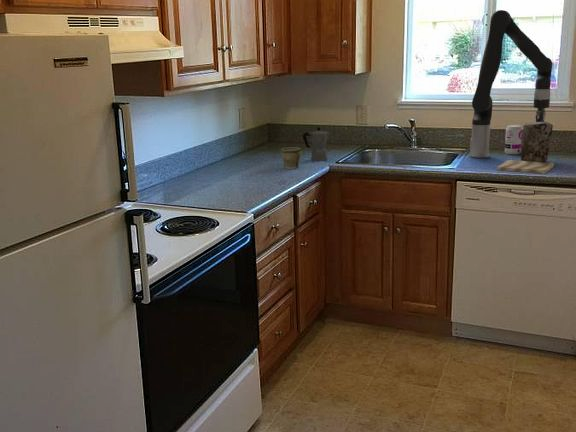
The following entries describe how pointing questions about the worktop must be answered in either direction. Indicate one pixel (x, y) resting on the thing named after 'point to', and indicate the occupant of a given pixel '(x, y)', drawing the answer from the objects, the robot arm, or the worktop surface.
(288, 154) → the ceramic cup
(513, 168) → the cutting board
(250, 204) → the worktop surface
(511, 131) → the supplement can
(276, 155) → the worktop surface
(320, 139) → the coffeepot
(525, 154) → the stone block
